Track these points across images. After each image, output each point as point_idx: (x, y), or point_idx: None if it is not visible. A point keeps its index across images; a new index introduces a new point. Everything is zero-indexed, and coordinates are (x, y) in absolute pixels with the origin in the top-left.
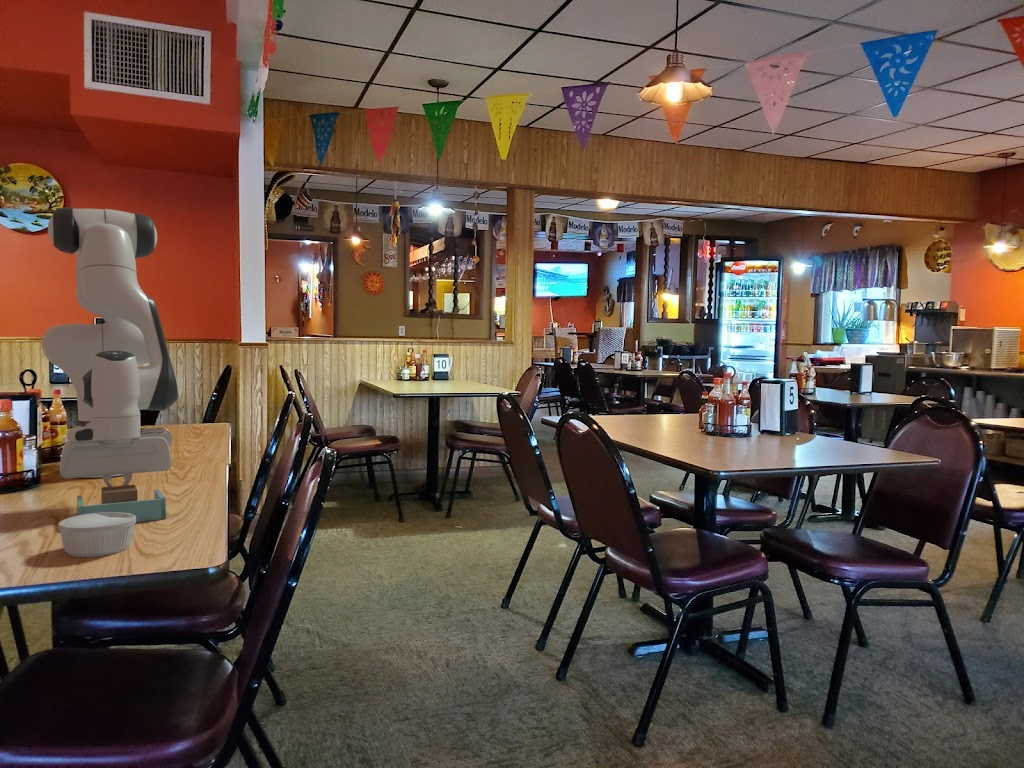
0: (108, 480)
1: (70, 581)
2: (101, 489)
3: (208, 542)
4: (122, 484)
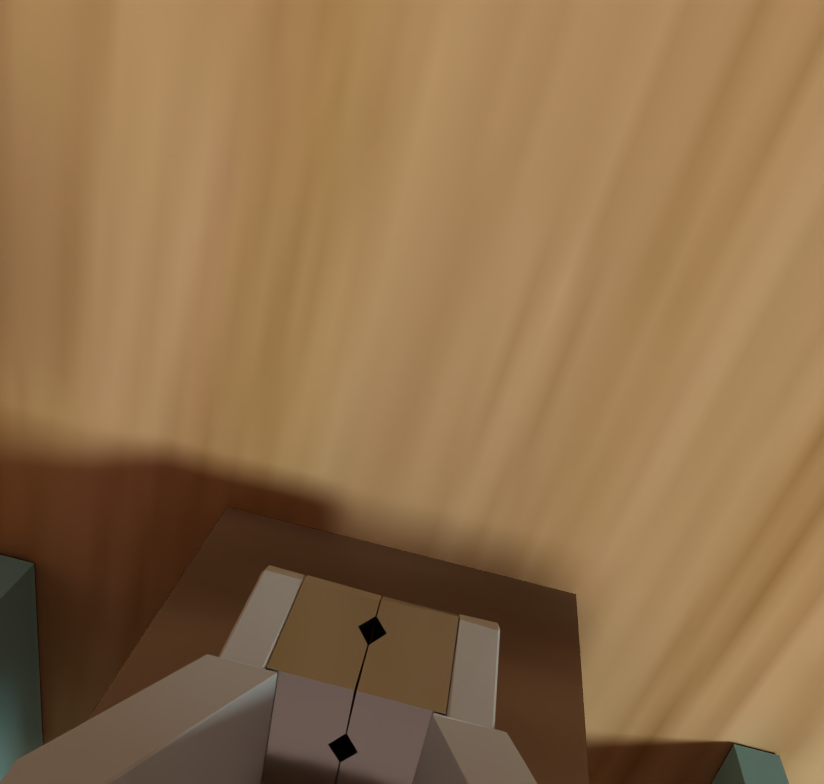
0: (144, 760)
1: None
2: None
3: None
4: (445, 735)
